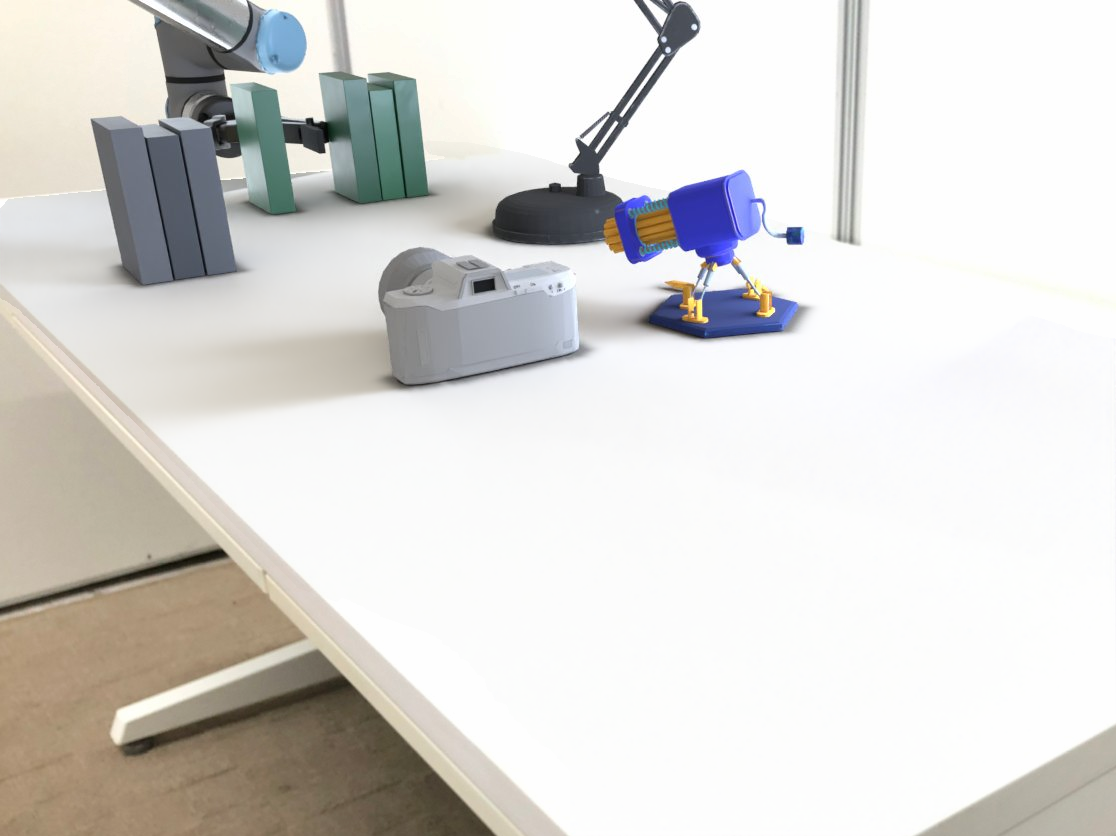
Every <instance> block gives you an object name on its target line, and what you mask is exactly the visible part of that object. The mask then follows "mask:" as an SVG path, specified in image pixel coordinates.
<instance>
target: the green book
mask: <svg viewBox="0 0 1116 836" xmlns="http://www.w3.org/2000/svg"><path fill="white" fill-rule="evenodd" d="M229 90H230V94H231V98H232V101H233V107H234V113H235V119H236V124H237V130H238V136H239V142H240V147H241V153H242V156H241V158H242V164H243V170H244V175H245V181H246V185H247V186H246V187H247V188H246V189H247V193H248V199H249V203H251V204H253V205H254V206H256V207H257V208H260V209H261V210H263V211H265V212H266V213H268V214H269V215H280V214H288V213H295V212H297V208H296V201H295V196H294V190H293V183H292V176H291V170H290V163H289V158H288V157H289V156H288V152H287V151H288V150H287V145H286V144H287V143H285V138H284V132H283V125H282V119H281V116H282V115H281V114H282V113H281V107H280V101H279V94H278V90H277V89H275V88H273V87H269V86H267V85H264V84H260V83H257V82H255V81H253V82H251V81H250V82H240V83H239V82H238V83H230V84H229Z"/></svg>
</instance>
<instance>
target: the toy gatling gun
mask: <svg viewBox="0 0 1116 836" xmlns="http://www.w3.org/2000/svg"><path fill="white" fill-rule="evenodd" d="M758 204H761V205H762V214H761V212H760V209H759V205H758ZM768 213H769V205H768V202H767V200H766V199H764V198H763V197H756V194H755V190H754V186H753V182H752V179H751V177H750V175H749V174H748V172H747V171H746V170H745V169H739V170H737V171H735V172H733V173H731V174H727V175H723V176H719V177H715V178H711V179H706V180H703V181H700V182H696V183H691V184H686V185H684V186H681V187H679V188H678V189H675V190H673V191H671V192H669V193H668V195H667V196H666V197H665V198H664V197H662V199H661V198H658V199H657V200H656V199H654V200H653V201H652V199H651V198H650V197H649V196H648V195H646V194H643V195H640V196H639V197H632V198H630V199H627V200H626V201H623V203H621V204H618V205H617V206H616V208H615V212H614V216H615V218H611V219H607V220H606V224H604V228H605V230H604V236H605V237H608V238H605V239H604V241H605V244H606V245H607V246H608V249H609V250H610V252H613V253H614V254H619V253H623V252H624V255H625V257H626V259H627V261H628V262H629V264H631V265H636V264H639V263H645V262H649V261H651V260H652V259H653V258H656V257H657V256H658V255H661V254H662V253H663V251H664V250H665V251H666V250H669V249H670V250H671V249H673V248H674V249H675V248H678V247H679V248H680V249H681V251H683V252H685V253H687V252H691V251H695V254H696V255H697V257H699V258H700V259H705V261H703V262H701V264H700V271H699V272H698V275H697V276H696V277H697V281H696V283H691V282H686V281H680V280H668V281H664V283H665V284H666V285H668V286H670V287H672V288H676V289H682V293H676V294H670V295H669V297H668V298H667V299H666V300H664V302H662V303H661V304H660V305H659V306H658V308H656V309H655V311H653V312H652V313H651V314H650V315H649V317H648V320H647V321H648V323H650V324H653V325H657V326H661V327H664V328H668V329H671V330H675V331H679V332H681V333H686V334H689V335H693V336H696V337H699V338H703V339H709V338H718V337H719V338H720V337H731V336H741V335H751V334H760V333H762V334H763V333H770V332H771V333H772V332H781V331H782V332H783V331H784V330H785V328H786V326H787V325H788V324H789V322H790V321H791V320H792V318H793V316H794V315H795V313H796V312H797V311H798V309H799V304H798V302H796V301H794V300H789V299H785V298H781V297H776V296H773V293H772V291H771V290H769V289H768V287H766V286H764V285H762V277H758V278H755V281H754V276H753V275H749V273H748V272H747V270H746V269H745V267H744V266H743V265H742V260H741V259H739V258H738V257H737V256H736V253H735V249H737V247H738V245H739V241H740V242H743V241H744V242H745V241H746V240H748V239H750V238H751V237H753V236H754V235H756V234H758V233H759V232H760V229H761V225H762V226H763V228H764V230H765V231H766V233H768V234H769V235H770V236H771V237H773V238H776V239H785V240H786V244H787V245H788V246H798V245H799V246H803V245H804V243H805V229H804V226H787V227H786V231H785V233H784V232H783V233H782V232H781V233H780V232H775V231H774V230H773V229H772V228H771V227H770V226H769V225H768V221H767V220H768V219H767V216H768ZM609 236H610V237H609ZM726 265H731V266H732V267H733V269H734V270H735V271H736V272H737V274H738V275H740V276H741V277H742V278H743V280H744V281H746V283H745V287H746V288H747V289H744V288H733V289H721V290H710V291H706V290H707V287H709V286H710V283H711V281H712V279H713V275H714V272H715V271H716V270H717V268H720V267H724V266H726ZM705 275H706V276H705ZM704 277H705V278H704ZM703 279H704V280H703ZM701 280H703V283H702V285H703V289H702V291H698V292H695V291H696V289H697V287H698V285H699V283H700V281H701Z"/></svg>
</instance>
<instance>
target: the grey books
mask: <svg viewBox="0 0 1116 836" xmlns="http://www.w3.org/2000/svg"><path fill="white" fill-rule="evenodd" d="M157 121H158V124H157V123H151V124H140V125H139V124H137V123H135V122H133V121H131V120H129V119H127V118H126V117H124V116H122V115H119V116H116V115H115V116H107V117H93V118H90V124H91V129H92V132H93V137H94V141H95V147H96V150H97V155H98V159H99V164H100V169H101V174H102V178H103V183H104V187H105V191H106V192H105V193H106V196H107V200H108V205H109V210H110V214H111V219H112V224H113V228H114V232H115V237H116V242H117V246H118V250H119V255H120V259H121V264H122V268H124V269H125V270H126V271H127V272H128V273H129V274H130V275H132V277H134V278H135V279H136V280H137V282H139V283H140V284H141V285H142V286H145V285H153V284H159V283H165V282H172V281H174V280H175V281H176V280H177V281H178V280H183V279H191V278H197V277H204V276H206V275H207V276H214V275H221V274H227V273H233V272H237V271H238V269H237V263H236V258H235V252H234V248H233V247H234V246H233V242H232V235H231V231H230V225H229V220H228V214H227V208H226V203H225V196H224V192H223V186H222V181H221V175H220V169H219V165H218V159H217V156H216V152H215V147H214V141H213V136H212V130H211V128H210V127H208V126H206V125H204V124H202V123H199V122H197V121H195V120H193V119H191V118H189V117H179V118H168V119H167V118H159V119H157Z"/></svg>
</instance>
